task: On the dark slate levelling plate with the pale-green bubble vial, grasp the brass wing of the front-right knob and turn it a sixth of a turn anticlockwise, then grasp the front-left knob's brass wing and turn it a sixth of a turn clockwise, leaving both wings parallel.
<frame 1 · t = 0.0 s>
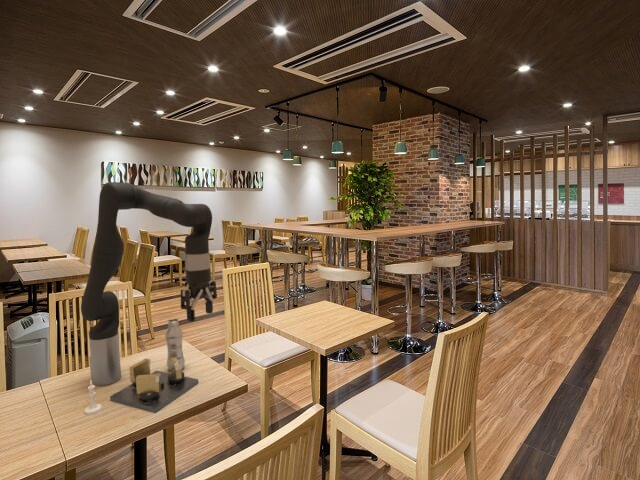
hand: (200, 316, 118), 29 cm above the table, fingers open, 8 cm apart
knob a: (149, 386, 122), point 6 cm above the table, hinge at 0.0°
knob c: (140, 373, 132), point 6 cm above the table, hinge at 0.0°
knob b: (175, 370, 133), point 6 cm above the table, hinge at 0.0°
chess piece: (93, 410, 118), on the table
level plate: (156, 391, 129), on the table
plastic bottle: (176, 369, 146), on the table
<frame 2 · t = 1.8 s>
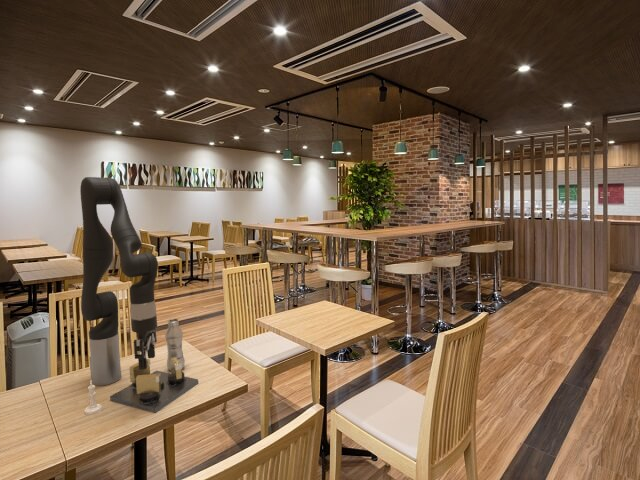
hand: (147, 363, 121), 14 cm above the table, fingers open, 8 cm apart
nothing on the table moved.
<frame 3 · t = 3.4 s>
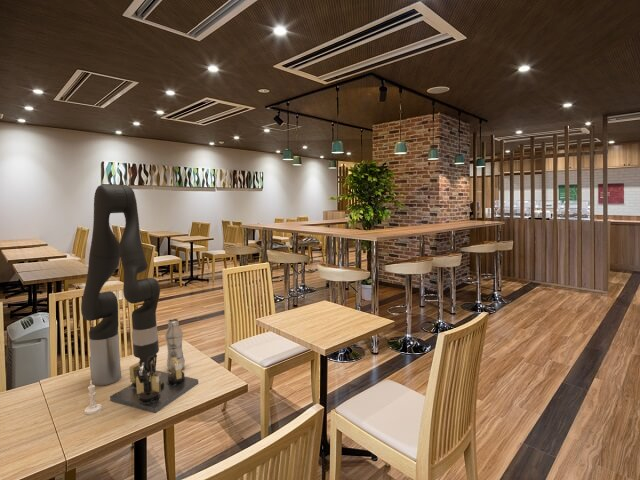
hand: (149, 390, 122), 4 cm above the table, fingers closed on knob a, 2 cm apart
knob a: (149, 386, 122), point 6 cm above the table, hinge at 0.0°, touching gripper
everything else where it was.
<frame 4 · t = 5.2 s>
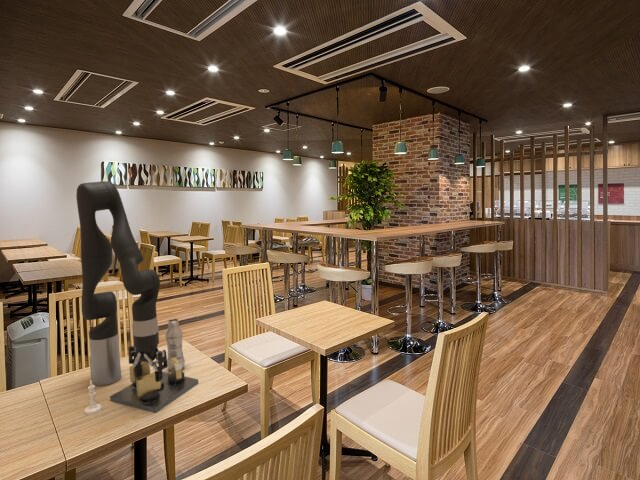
hand: (148, 378, 122), 8 cm above the table, fingers open, 8 cm apart
knob a: (149, 386, 122), point 6 cm above the table, hinge at 42.0°
everything else where it was.
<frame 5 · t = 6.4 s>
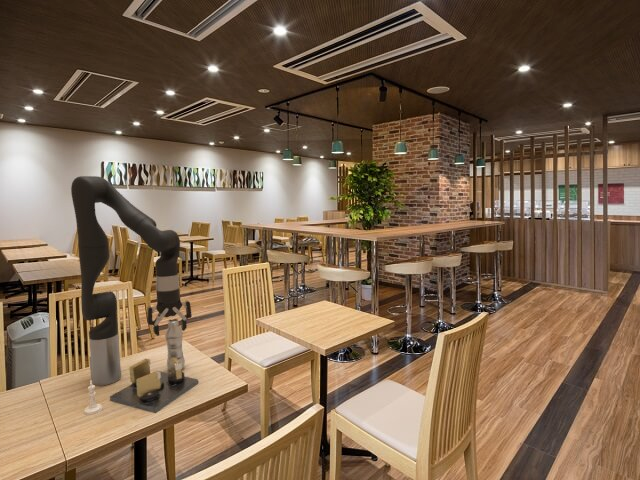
hand: (170, 332, 130), 20 cm above the table, fingers open, 8 cm apart
knob a: (149, 386, 122), point 6 cm above the table, hinge at 46.5°
everything else where it was.
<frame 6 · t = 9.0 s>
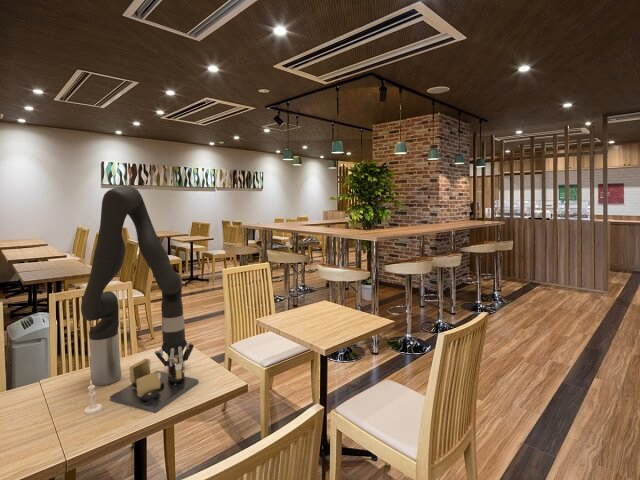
hand: (176, 373, 133), 4 cm above the table, fingers closed on knob b, 2 cm apart
knob a: (149, 386, 122), point 6 cm above the table, hinge at 47.9°
knob b: (175, 370, 133), point 6 cm above the table, hinge at -0.1°, touching gripper
everything else where it was.
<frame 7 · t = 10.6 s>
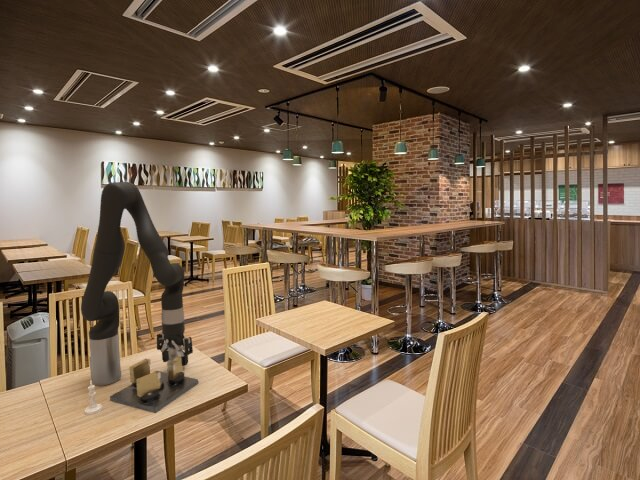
hand: (175, 363, 133), 8 cm above the table, fingers open, 8 cm apart
knob b: (175, 370, 133), point 6 cm above the table, hinge at -42.9°
everything else where it was.
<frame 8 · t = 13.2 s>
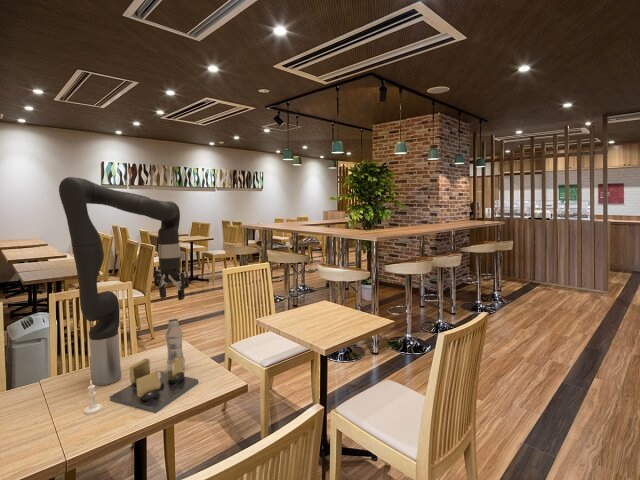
hand: (172, 298, 138), 30 cm above the table, fingers open, 8 cm apart
knob b: (175, 370, 133), point 6 cm above the table, hinge at -48.5°
everything else where it was.
at the end: knob a at +48° (first picture: +0°); knob b at -48° (first picture: +0°); the gripper is holding nothing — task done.
